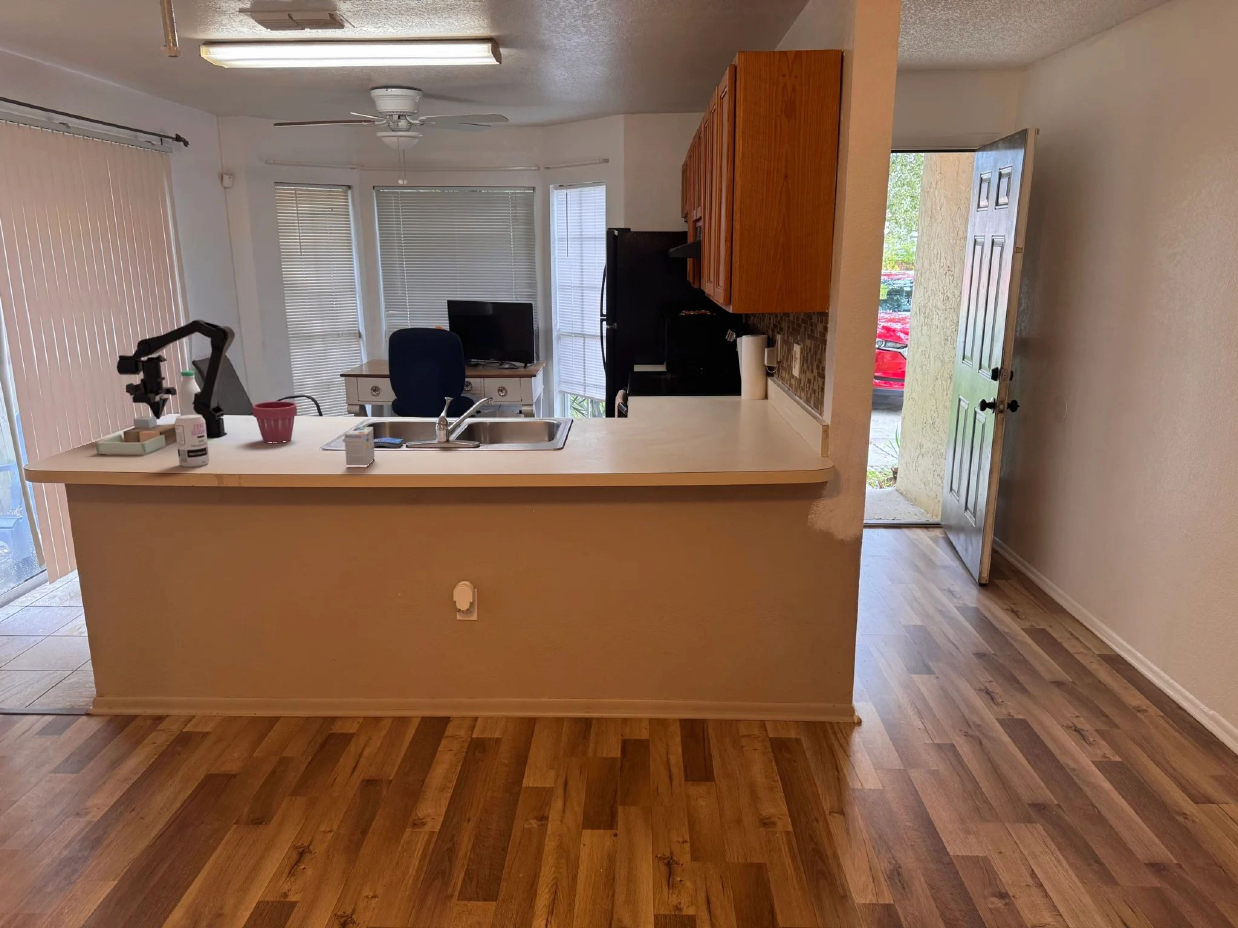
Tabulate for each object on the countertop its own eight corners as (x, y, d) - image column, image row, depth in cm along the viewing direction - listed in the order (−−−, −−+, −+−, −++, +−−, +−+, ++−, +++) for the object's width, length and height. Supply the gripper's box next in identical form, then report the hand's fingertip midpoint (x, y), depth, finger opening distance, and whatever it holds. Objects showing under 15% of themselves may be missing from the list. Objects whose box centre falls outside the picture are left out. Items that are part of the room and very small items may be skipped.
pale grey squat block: (157, 425, 291) (156, 416, 290) (149, 428, 286) (148, 419, 285) (142, 425, 291) (141, 416, 290) (134, 428, 286) (133, 419, 285)
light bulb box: (353, 460, 267) (351, 426, 264) (375, 459, 268) (373, 426, 265) (345, 468, 257) (343, 433, 254) (368, 468, 257) (366, 433, 255)
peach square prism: (159, 430, 280) (154, 432, 277) (161, 445, 281) (156, 447, 278) (144, 430, 279) (139, 432, 276) (145, 445, 281) (141, 447, 278)
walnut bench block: (181, 439, 293) (180, 425, 292) (164, 446, 282) (162, 431, 280) (144, 438, 293) (142, 424, 292) (125, 446, 281) (123, 431, 280)
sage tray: (165, 446, 282) (164, 434, 281) (144, 455, 269) (143, 443, 268) (120, 446, 281) (119, 434, 280) (97, 455, 269) (95, 442, 268)
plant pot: (301, 443, 290) (298, 406, 286) (257, 446, 283) (253, 409, 280) (296, 435, 302) (294, 400, 299) (254, 438, 296) (251, 402, 293)
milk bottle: (195, 425, 316) (189, 372, 311) (177, 424, 317) (171, 372, 313) (208, 422, 323) (203, 370, 318) (191, 421, 325) (185, 369, 320)
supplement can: (186, 461, 262) (180, 414, 259) (213, 461, 263) (208, 413, 259) (174, 467, 254) (169, 418, 251) (203, 467, 255) (198, 418, 251)
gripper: (143, 371, 301) (148, 414, 305) (113, 378, 283) (119, 424, 287) (174, 371, 301) (179, 414, 305) (147, 378, 283) (152, 424, 287)
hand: (157, 419), depth 296 cm, fingers closed
